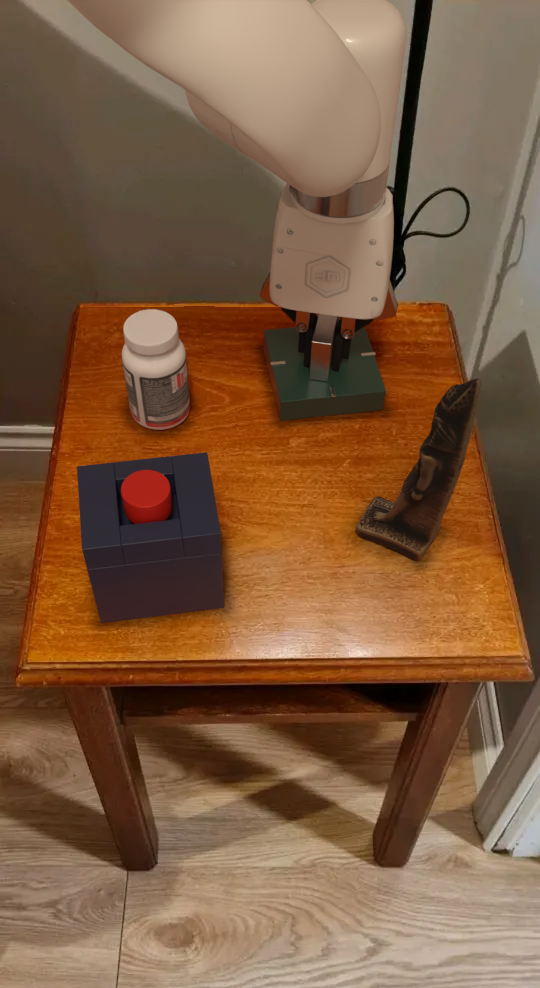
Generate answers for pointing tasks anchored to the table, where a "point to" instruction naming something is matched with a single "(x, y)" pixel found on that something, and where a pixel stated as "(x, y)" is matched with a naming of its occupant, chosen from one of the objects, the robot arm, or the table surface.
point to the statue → (426, 479)
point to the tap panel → (313, 398)
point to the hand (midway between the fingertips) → (323, 358)
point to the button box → (151, 541)
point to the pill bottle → (155, 370)
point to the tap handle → (323, 347)
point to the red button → (146, 497)
